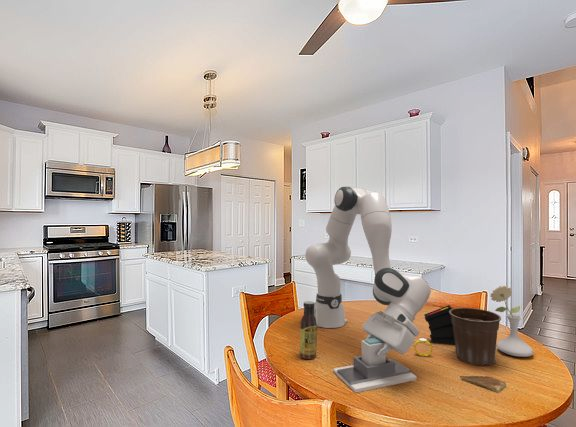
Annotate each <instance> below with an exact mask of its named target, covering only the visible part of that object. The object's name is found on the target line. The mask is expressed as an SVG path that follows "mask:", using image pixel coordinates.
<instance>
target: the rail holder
mask: <svg viewBox="0 0 576 427" xmlns="http://www.w3.org/2000/svg"><path fill="white" fill-rule="evenodd" d="M352 360H353V362H352V365H347V366H346V365H345V366H341V367H335V368H333V372H332V373H334V374H335V375H336V376H337V377H338V378H339V379H340V380H341V381H342V382H343V383H344V384H346V385H347V387H349V388H350V389H351V390H352V391H353V392H354V393H355V394H356V393H361V392H365V391H370V390H374V389H380V388H384V387H391V386H393V385H395V386H396V385H398V384H399V385H400V384H402V383H408V382H412V381H416V380H418V377H417V376H416V375H415V374H414V373H412V371H411V369H410V368H408V367H406V366H405V365H403V364H402V363H400V362H398V360H395V359H390V358H388V357H386V363H384V364H378V365H373V366H368V365H366V364H365V363H364V362H362V355H358V356H353V358H352Z"/></svg>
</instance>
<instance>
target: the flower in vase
mask: <svg viewBox="0 0 576 427" xmlns="http://www.w3.org/2000/svg"><path fill="white" fill-rule="evenodd" d="M511 297H512V288H511V287H508V286H507V285H499V286H498V287H496V288H495V289H493V290H492V293H490V298H491V299H490V300H491V301H493V302H497V303H501V302H503V301H504V304H505V306H499V307H497V308H495V310H494V311H495V312H499V313H504V312H505V311H506V310H507V311H508V312H509V313H507V314H505V317H506V318H507V320H508V322H509V327H510V329H509V331H510V333H509V335H508V336H507V337H505V338H503V339H501V340H499V341H498V342H496V349H498V350H499V351H500V352H502V353H504V354H507V355H510V356H514V357H522V358H526V357H530V356H532V355H533V354H534V350H533V348H532V347H531V346H530V345H529V344H528V343H526V342H525V341H524V340H523V339H522V338H521V337H520V336H519V331H518V330H519V323H520V321H521V320H522V318H523V317H522V316H521V315H519V314H515V313H518V312H519V311H520V309H521V306H520V305H518V306H516V307H512V308H511V309H509V307H508V305H507V301H508V299H509V298H511ZM506 300H507V301H506Z"/></svg>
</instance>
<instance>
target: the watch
mask: <svg viewBox="0 0 576 427" xmlns="http://www.w3.org/2000/svg"><path fill="white" fill-rule="evenodd" d="M419 343H424V344H425V343H427V344H428V346H429V347H430V350H429V352H428V353H420V352H419V351H418V350H417V348H416V347H417V345H418V344H419ZM414 351H415V353H416V354H417V355H418V356H419V357H420V356H422V357H430V356H431V355H432V353H433V347H432V344H431V343H430V342H429V341H428V339H427V338H424V337H421V338H418V340H415V342H414Z"/></svg>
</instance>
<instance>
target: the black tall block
mask: <svg viewBox="0 0 576 427" xmlns="http://www.w3.org/2000/svg"><path fill="white" fill-rule="evenodd" d="M451 309H453V307H452V306H451V305H449V304H448V305H445V306H443V307H441V308H439V309H436V310H433V311H430V312H427V313H425V314H424V319H425V322H426V323H427V325H428V329H429V332H430V334H429V337H430V340H431V343H433V344H442V345H452V346H455V339H454V331H453V324H452V321H451V315H450V313H449V311H450V310H451Z"/></svg>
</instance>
